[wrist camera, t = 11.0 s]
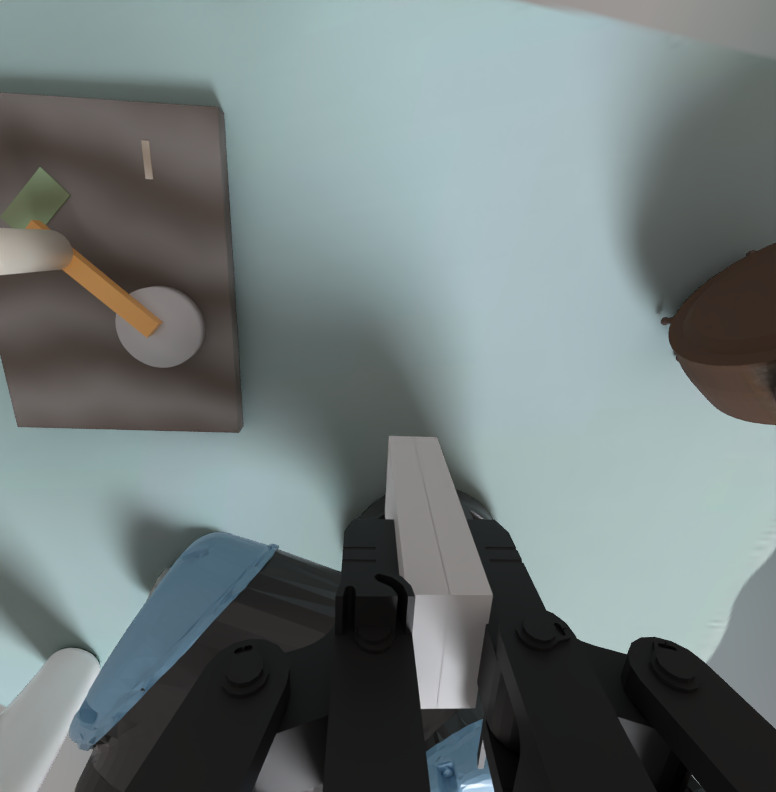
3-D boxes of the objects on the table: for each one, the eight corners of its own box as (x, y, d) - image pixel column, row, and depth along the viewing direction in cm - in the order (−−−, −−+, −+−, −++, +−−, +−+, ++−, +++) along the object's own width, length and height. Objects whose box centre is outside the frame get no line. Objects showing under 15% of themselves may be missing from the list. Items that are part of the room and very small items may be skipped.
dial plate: (243, 425, 39) (238, 433, 38) (30, 419, 38) (16, 427, 37) (223, 113, 32) (216, 106, 30) (-44, 95, 31) (-66, 87, 29)
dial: (221, 324, 35) (178, 348, 27) (174, 377, 36) (121, 415, 28) (71, 196, 31) (-26, 181, 24) (26, 260, 33) (-81, 266, 25)
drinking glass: (51, 687, 48) (-79, 872, 34) (36, 640, 46) (-111, 816, 32) (115, 685, 49) (12, 868, 35) (103, 638, 47) (-13, 812, 32)
